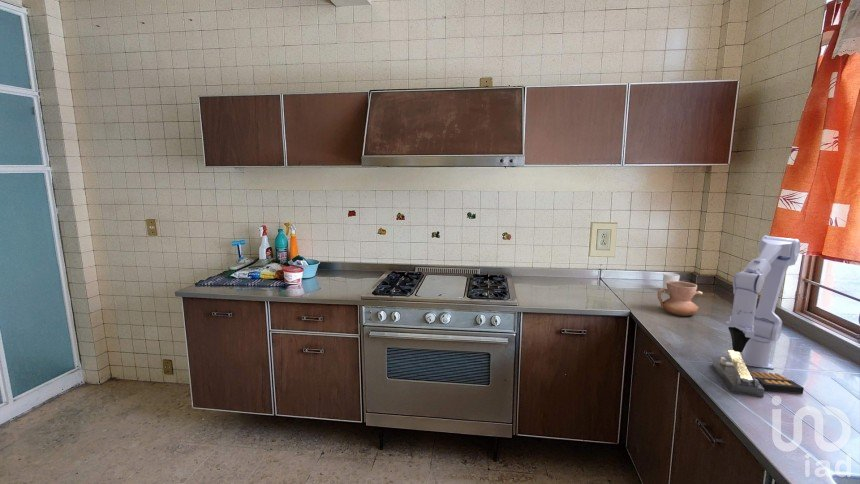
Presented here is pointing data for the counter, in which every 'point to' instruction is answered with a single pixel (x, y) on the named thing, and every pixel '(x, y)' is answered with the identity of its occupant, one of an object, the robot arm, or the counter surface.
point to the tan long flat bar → (740, 367)
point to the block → (737, 380)
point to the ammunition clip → (777, 382)
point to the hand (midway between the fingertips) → (737, 351)
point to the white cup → (669, 278)
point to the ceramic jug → (679, 298)
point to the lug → (723, 362)
